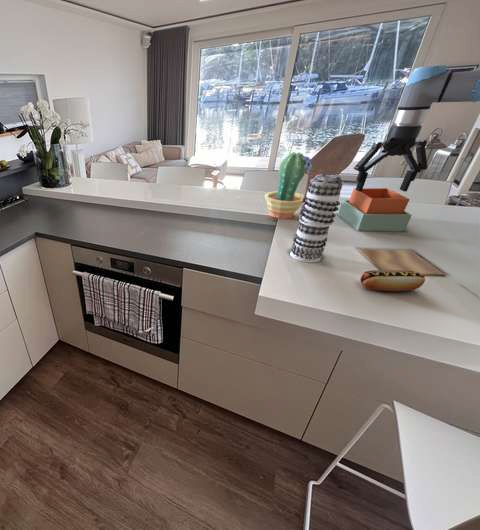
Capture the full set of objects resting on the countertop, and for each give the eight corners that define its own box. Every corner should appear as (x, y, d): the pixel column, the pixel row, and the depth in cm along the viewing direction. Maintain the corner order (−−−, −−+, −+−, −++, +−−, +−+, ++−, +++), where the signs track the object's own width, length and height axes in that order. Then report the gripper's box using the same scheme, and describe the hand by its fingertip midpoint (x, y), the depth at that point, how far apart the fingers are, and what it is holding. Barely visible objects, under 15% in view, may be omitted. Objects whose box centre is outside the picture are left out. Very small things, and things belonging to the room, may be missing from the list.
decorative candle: (282, 253, 93) (300, 175, 81) (302, 247, 96) (324, 170, 83) (307, 265, 86) (332, 182, 73) (329, 258, 89) (357, 176, 76)
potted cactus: (283, 224, 113) (298, 158, 100) (252, 213, 125) (263, 153, 113) (310, 216, 118) (328, 152, 105) (278, 206, 130) (291, 147, 118)
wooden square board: (410, 252, 88) (411, 250, 88) (444, 276, 77) (445, 274, 76) (358, 250, 91) (359, 249, 91) (383, 273, 80) (384, 272, 79)
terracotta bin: (376, 216, 112) (387, 188, 106) (396, 229, 101) (409, 198, 96) (344, 215, 114) (353, 188, 109) (360, 228, 103) (371, 199, 98)
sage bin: (378, 216, 113) (384, 199, 110) (403, 232, 100) (412, 214, 96) (337, 215, 116) (342, 200, 113) (357, 232, 103) (363, 214, 99)
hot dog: (424, 295, 71) (434, 278, 68) (364, 294, 73) (371, 278, 70) (409, 284, 75) (418, 268, 72) (353, 283, 77) (360, 267, 74)
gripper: (445, 121, 92) (415, 187, 102) (356, 125, 97) (336, 187, 108) (464, 123, 85) (429, 193, 96) (367, 127, 91) (345, 193, 101)
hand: (380, 190), depth 102 cm, fingers open, 13 cm apart
